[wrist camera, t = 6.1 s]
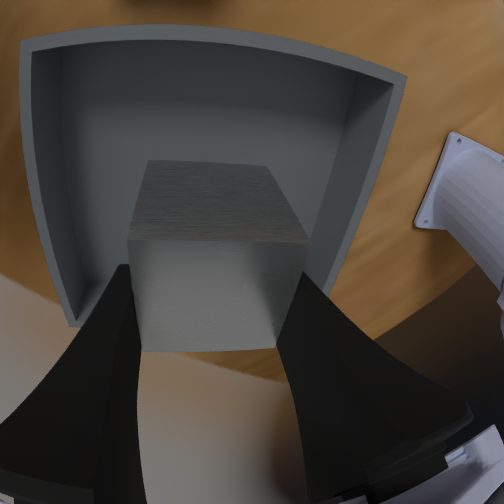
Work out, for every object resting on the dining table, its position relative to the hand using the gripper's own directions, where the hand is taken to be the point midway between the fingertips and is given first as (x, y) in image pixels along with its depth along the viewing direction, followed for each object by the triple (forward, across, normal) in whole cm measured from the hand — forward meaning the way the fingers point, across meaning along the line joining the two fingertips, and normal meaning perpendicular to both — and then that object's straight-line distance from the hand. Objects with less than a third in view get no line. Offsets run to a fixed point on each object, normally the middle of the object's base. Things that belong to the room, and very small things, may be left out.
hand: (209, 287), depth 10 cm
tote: (+8, 0, 0) cm, 8 cm away
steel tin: (+4, 0, -1) cm, 4 cm away
